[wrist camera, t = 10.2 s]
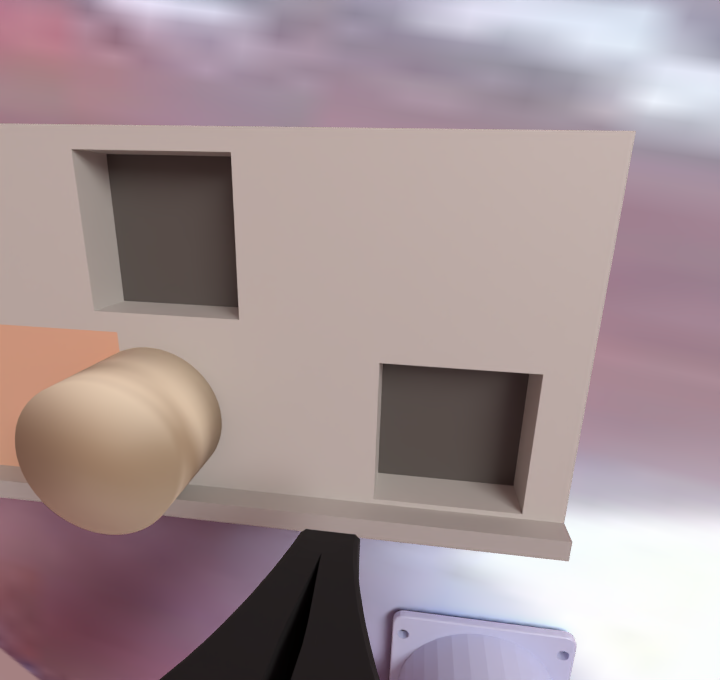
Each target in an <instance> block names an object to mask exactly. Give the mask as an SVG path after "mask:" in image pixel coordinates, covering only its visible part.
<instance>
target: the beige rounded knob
mask: <svg viewBox="0 0 720 680" xmlns="http://www.w3.org/2000/svg"><path fill="white" fill-rule="evenodd" d="M221 429H222V418H221V411H220V407H219V404H218V401H217V398H216V396H215V394H214V392H213V390H212V388H211V387H210V385H209V384H208V382H207V381H206V380H205V378H204V377H203V376H202V375H201V374H200V373H199V372H198V371H197V370H196V369H195V368H194V367H193V366H192V365H190V364H189V363H188V362H186V361H185V360H183V359H182V358H180V357H178V356H176V355H174V354H172V353H169V352H167V351H164V350H160V349H156V348H148V347H137V348H130V349H126V350H123V351H120V352H118V353H116V354H114V355H112V356H110V357H108V358H106V359H104V360H102V361H100V362H98V363H96V364H94V365H92V366H90V367H88V368H86V369H84V370H82V371H80V372H78V373H76V374H74V375H72V376H70V377H68V378H66V379H64V380H62V381H60V382H58V383H56V384H54V385H52V386H50V387H48V388H46V389H44V390H42V391H41V392H39V393H38V394H36V395H35V396H34V397H33V398H32V399H31V400H30V401H29V402H28V403H27V404H26V405H25V407H24V408H23V410H22V412H21V414H20V416H19V418H18V421H17V425H16V430H15V449H16V456H17V459H18V463H19V466H20V468H21V471H22V473H23V475H24V477H25V479H26V481H27V482H28V484H29V486H30V487H31V488H32V490H33V491H34V493H35V494H36V495H37V496H38V497H39V499H40V500H41V501H42V502H43V503H44V504H45V505H46V506H47V507H48V508H49V509H51V510H52V511H53V512H54V513H56V514H57V515H58V516H60V517H61V518H63V519H65V520H66V521H68V522H70V523H72V524H74V525H76V526H78V527H80V528H83V529H85V530H88V531H92V532H96V533H101V534H109V535H121V534H129V533H134V532H137V531H140V530H142V529H145V528H147V527H148V526H150V525H152V524H153V523H154V522H156V521H157V520H158V519H159V518H160V517H161V516H162V515H163V514H164V513H165V512H166V510H167V509H168V508H169V507H170V505H171V504H172V503H173V502H174V501H175V499H176V498H177V497H178V496H179V495H180V493H181V492H182V491H183V490H184V488H185V487H186V486H187V485H188V484H189V482H190V481H191V480H192V479H193V478H194V476H195V475H196V474H197V473H198V471H199V470H200V469H201V468H202V467H203V465H204V464H205V463H206V462H207V461H208V459H209V458H210V457H211V456H212V454H213V453H214V451H215V449H216V447H217V445H218V443H219V440H220V436H221Z"/></svg>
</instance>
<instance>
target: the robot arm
mask: <svg viewBox="0 0 720 680" xmlns="http://www.w3.org/2000/svg"><path fill="white" fill-rule="evenodd" d="M359 551H360V539H359V538H358V537H357V536H356V534H347V533H338V532H329V531H320V530H311V529H305V530H303V531H302V532H301V533H300V535H299V536H298V537H297V539H296V540H295V541H294V543H293V544H292V545H291V547H290V548H289V549H288V551H287V552H286V553H285V555H284V556H283V557H282V558H281V560H280V561H279V562H278V563H277V565H276V566H275V567H274V568H273V569H272V571H271V572H270V573H269V574H268V575H267V576H266V578H265V579H264V580H263V581H262V582H261V583H260V585H259V586H258V587H257V588H256V589H255V590H254V592H253V593H252V594H251V595H250V596H249V597H248V598H247V599H246V600H245V601H244V602H243V603H242V604H241V605H240V606H239V607H238V609H237V610H236V611H235V612H234V613H233V614H232V615H231V616H230V617H229V618H228V619H227V620H226V621H225V622H224V623H223V624H222V625H221V626H220V627H219V628H218V629H217V630H216V631H215V632H214V633H213V634H212V635H211V636H210V637H209V638H207V639H206V640H205V641H204V642H203V643H202V644H201V645H200V646H199V647H198V648H196V649H195V650H194V651H193V652H192V653H191V654H190V655H189V656H188V657H186V658H185V659H184V660H183V661H182V662H181V663H179V664H178V665H177V666H176V667H174V668H173V669H172V670H171V671H170V672H168V673H167V674H166V675H165V676H163V677H162V678H161V679H160V680H380V679H379V676H378V673H377V669H376V665H375V662H374V658H373V654H372V650H371V646H370V642H369V637H368V633H367V628H366V623H365V618H364V613H363V607H362V601H361V594H360V587H359ZM401 630H406V631H401ZM560 651H564V652H560ZM575 652H576V642H575V639H574V637H573V635H572V634H570V633H569V632H566V631H560V630H552V629H544V628H537V627H529V626H521V625H513V624H506V623H498V622H490V621H483V620H475V619H467V618H459V617H452V616H444V615H436V614H428V613H421V612H413V611H405V610H402V611H398V612H396V613H395V614H394V617H393V628H392V644H391V660H390V677H389V680H570V676H571V671H572V666H573V661H574V657H575Z"/></svg>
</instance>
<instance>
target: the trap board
mask: <svg viewBox="0 0 720 680" xmlns="http://www.w3.org/2000/svg"><path fill="white" fill-rule="evenodd" d="M635 132H636V131H584V130H500V129H415V128H331V127H246V126H161V125H77V124H0V497H3V498H12V499H21V500H30V501H39V502H42V501H41V500H40V499H39V497H38V496H37V495H36V494H35V493H34V491H33V490H32V488H31V487H30V486H29V484H28V482H27V481H26V479H25V477H24V475H23V473H22V471H21V468H20V466H19V463H18V459H17V456H16V449H15V430H16V425H17V421H18V418H19V416H20V414H21V412H22V410H23V408H24V407H25V405H26V404H27V403H28V402H29V401H30V400H31V399H32V398H33V397H34V396H35V395H36V394H38V393H39V392H41V391H42V390H44V389H46V388H48V387H50V386H52V385H54V384H56V383H58V382H60V381H62V380H64V379H66V378H68V377H70V376H72V375H74V374H76V373H78V372H80V371H82V370H84V369H86V368H88V367H90V366H92V365H94V364H96V363H98V362H100V361H102V360H104V359H106V358H108V357H110V356H112V355H114V354H116V353H118V352H120V351H123V350H126V349H130V348H137V347H148V348H156V349H160V350H164V351H167V352H169V353H172V354H174V355H176V356H178V357H180V358H182V359H183V360H185V361H186V362H188V363H189V364H190V365H192V366H193V367H194V368H195V369H196V370H197V371H198V372H199V373H200V374H201V375H202V376H203V377H204V378H205V380H206V381H207V382H208V384H209V385H210V387H211V388H212V390H213V392H214V394H215V396H216V398H217V401H218V404H219V407H220V411H221V418H222V429H221V436H220V440H219V443H218V445H217V447H216V449H215V451H214V453H213V454H212V456H211V457H210V458H209V459H208V461H207V462H206V463H205V464H204V465H203V467H202V468H201V469H200V470H199V471H198V473H197V474H196V475H195V476H194V478H193V479H192V480H191V481H190V482H189V484H188V485H187V486H186V487H185V488H184V490H183V491H182V492H181V493H180V495H179V496H178V497H177V498H176V499H175V501H174V502H173V503H172V504H171V505H170V507H169V508H168V509H167V510H166V512H165V513H164V514H163V516H172V517H181V518H189V519H198V520H207V521H216V522H225V523H234V524H243V525H252V526H260V527H269V528H278V529H287V530H296V531H303V530H305V529H311V530H320V531H329V532H338V533H347V534H356V536H357V537H358V538H367V539H376V540H385V541H393V542H402V543H411V544H420V545H429V546H438V547H447V548H456V549H464V550H473V551H482V552H491V553H500V554H509V555H518V556H527V557H535V558H544V559H553V560H562V561H569V556H570V551H571V546H572V541H571V538H570V536H569V534H568V531H567V529H566V527H565V525H564V520H565V515H566V509H567V504H568V498H569V493H570V487H571V482H572V477H573V471H574V466H575V460H576V455H577V449H578V444H579V438H580V433H581V427H582V422H583V416H584V411H585V406H586V400H587V395H588V389H589V384H590V378H591V373H592V367H593V362H594V356H595V351H596V345H597V340H598V335H599V329H600V324H601V318H602V313H603V307H604V302H605V296H606V291H607V285H608V280H609V274H610V269H611V264H612V258H613V253H614V247H615V242H616V236H617V231H618V225H619V220H620V214H621V209H622V203H623V198H624V193H625V187H626V182H627V176H628V171H629V165H630V160H631V154H632V149H633V143H634V138H635Z"/></svg>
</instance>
